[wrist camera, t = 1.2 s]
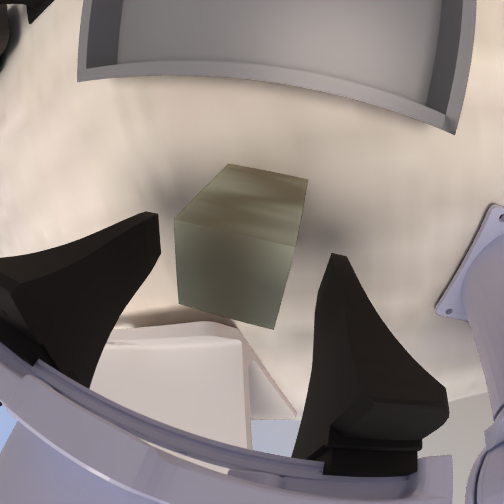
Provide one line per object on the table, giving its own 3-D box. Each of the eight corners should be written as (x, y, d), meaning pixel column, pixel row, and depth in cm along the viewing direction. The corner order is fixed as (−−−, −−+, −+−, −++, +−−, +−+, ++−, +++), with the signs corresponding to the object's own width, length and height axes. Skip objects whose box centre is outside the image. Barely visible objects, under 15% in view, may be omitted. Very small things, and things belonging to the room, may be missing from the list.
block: (308, 179, 14) (295, 247, 9) (292, 246, 16) (273, 329, 11) (228, 163, 14) (174, 219, 9) (223, 230, 16) (179, 303, 12)
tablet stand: (299, 412, 28) (266, 554, 14) (142, 401, 38) (100, 490, 24) (219, 295, 20) (110, 537, 6) (60, 320, 30) (-9, 419, 17)
